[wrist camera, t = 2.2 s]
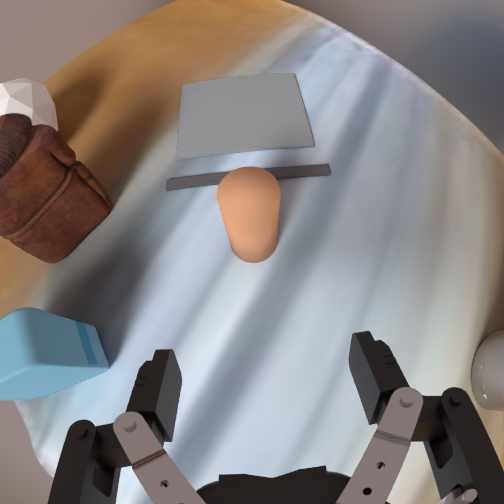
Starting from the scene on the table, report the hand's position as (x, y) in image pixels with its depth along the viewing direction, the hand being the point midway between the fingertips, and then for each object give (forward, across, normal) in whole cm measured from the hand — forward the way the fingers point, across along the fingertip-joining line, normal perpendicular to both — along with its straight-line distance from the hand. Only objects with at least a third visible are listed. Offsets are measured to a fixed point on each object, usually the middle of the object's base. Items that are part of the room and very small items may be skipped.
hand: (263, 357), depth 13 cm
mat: (+30, 0, -9) cm, 31 cm away
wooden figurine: (+21, +21, 0) cm, 30 cm away
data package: (+10, +21, +11) cm, 26 cm away
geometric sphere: (+31, +32, -10) cm, 46 cm away
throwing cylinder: (+18, 0, +2) cm, 19 cm away
